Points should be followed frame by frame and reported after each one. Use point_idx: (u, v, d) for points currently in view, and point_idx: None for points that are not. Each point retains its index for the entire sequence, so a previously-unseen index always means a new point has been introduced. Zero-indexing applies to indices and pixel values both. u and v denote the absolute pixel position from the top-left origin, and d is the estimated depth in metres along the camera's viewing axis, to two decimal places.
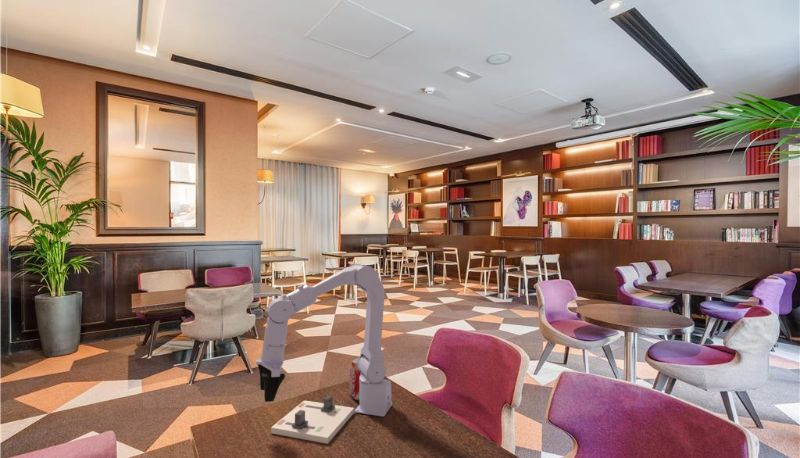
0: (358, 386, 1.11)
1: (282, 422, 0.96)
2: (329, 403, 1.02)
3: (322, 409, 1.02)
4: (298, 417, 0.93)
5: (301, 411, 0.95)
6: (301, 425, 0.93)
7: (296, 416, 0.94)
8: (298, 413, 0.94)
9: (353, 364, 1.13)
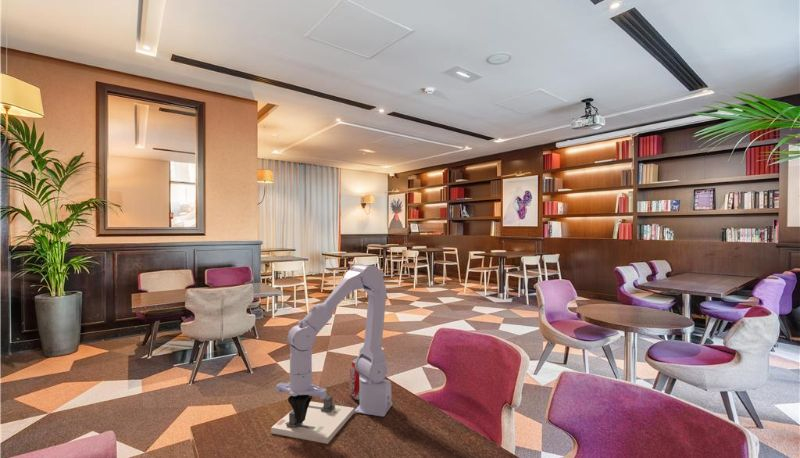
0: (358, 386, 1.11)
1: (282, 422, 0.96)
2: (329, 403, 1.02)
3: (322, 409, 1.02)
4: (292, 416, 0.94)
5: None
6: (295, 424, 0.94)
7: (290, 415, 0.94)
8: (292, 412, 0.95)
9: (353, 364, 1.13)
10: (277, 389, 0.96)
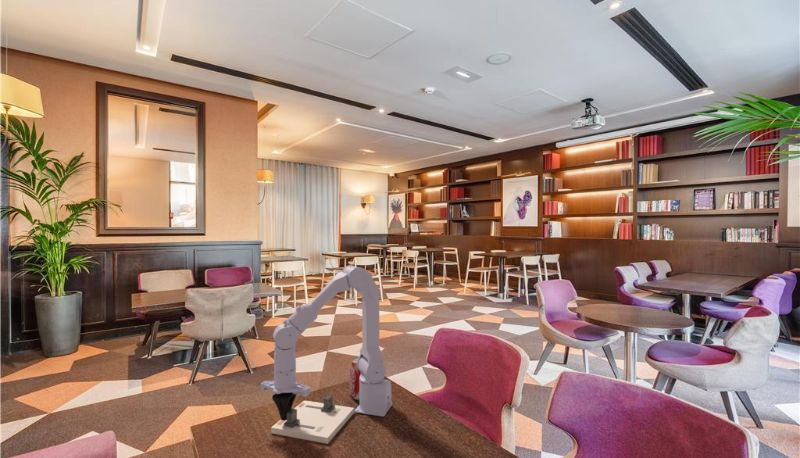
0: (358, 386, 1.11)
1: (282, 422, 0.96)
2: (329, 403, 1.02)
3: (322, 409, 1.02)
4: (290, 415, 0.94)
5: (293, 409, 0.96)
6: (293, 424, 0.94)
7: (288, 415, 0.94)
8: (290, 412, 0.95)
9: (353, 364, 1.13)
10: (262, 387, 0.97)
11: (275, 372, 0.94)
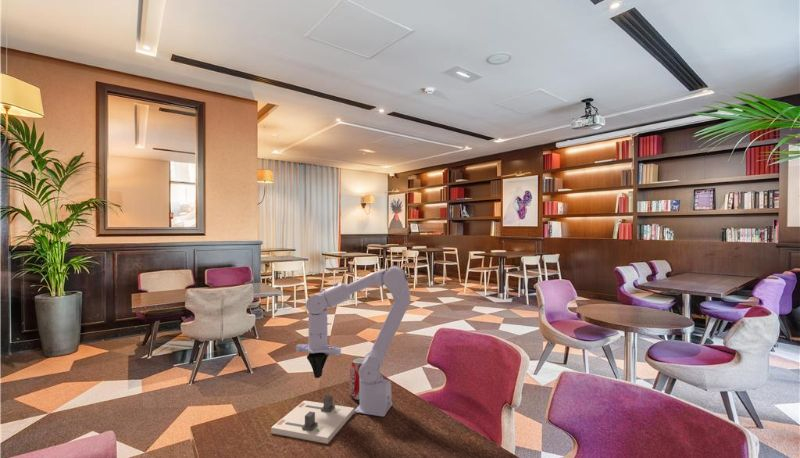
0: (358, 386, 1.11)
1: (282, 422, 0.96)
2: (329, 403, 1.02)
3: (322, 409, 1.02)
4: (308, 418, 0.92)
5: (311, 412, 0.94)
6: (311, 427, 0.92)
7: (306, 418, 0.93)
8: (308, 415, 0.93)
9: (353, 364, 1.13)
10: (297, 349, 1.09)
11: (310, 334, 1.06)
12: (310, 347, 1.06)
